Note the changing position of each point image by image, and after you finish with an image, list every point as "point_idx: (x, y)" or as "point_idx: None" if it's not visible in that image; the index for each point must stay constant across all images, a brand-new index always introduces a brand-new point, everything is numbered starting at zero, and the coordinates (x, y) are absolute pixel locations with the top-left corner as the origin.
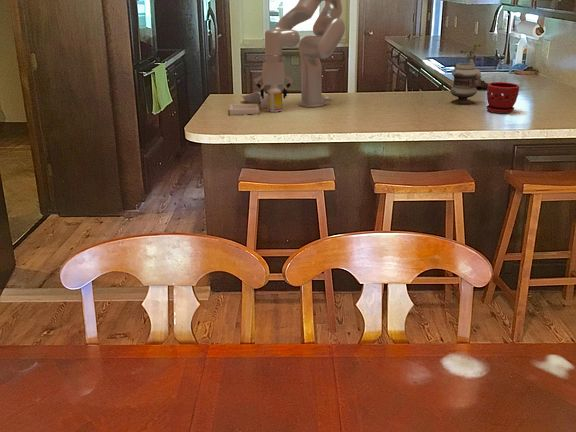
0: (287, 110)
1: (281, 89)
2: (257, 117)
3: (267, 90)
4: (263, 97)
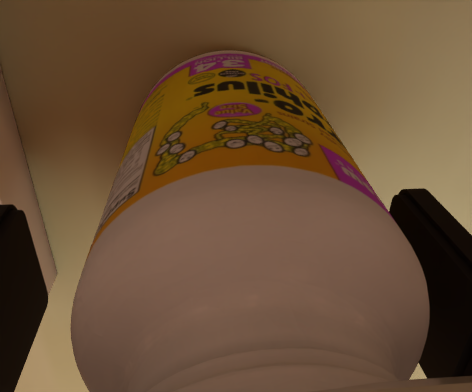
0: (378, 110)
1: (416, 361)
2: (61, 360)
3: (77, 362)
4: (37, 314)
